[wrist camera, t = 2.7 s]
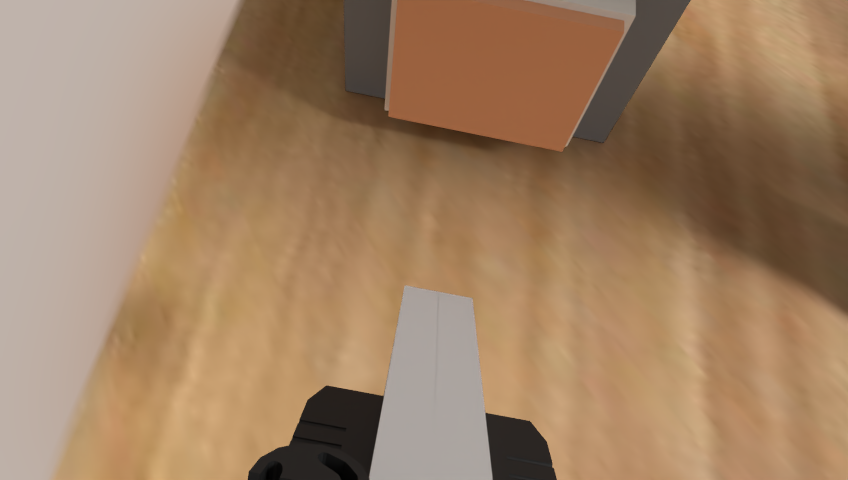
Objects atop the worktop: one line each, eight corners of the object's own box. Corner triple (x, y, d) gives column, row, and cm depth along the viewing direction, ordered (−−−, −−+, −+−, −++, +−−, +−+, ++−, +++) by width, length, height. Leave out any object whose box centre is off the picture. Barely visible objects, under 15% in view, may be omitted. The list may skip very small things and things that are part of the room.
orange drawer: (411, 5, 32) (427, -148, 25) (574, 38, 32) (635, -105, 25) (381, 119, 28) (390, -23, 21) (566, 156, 29) (635, 27, 21)
